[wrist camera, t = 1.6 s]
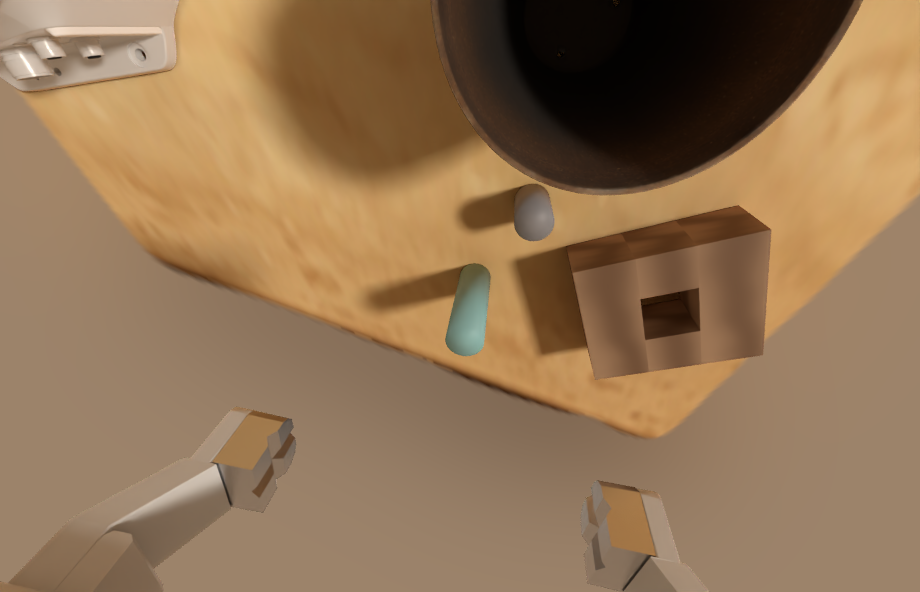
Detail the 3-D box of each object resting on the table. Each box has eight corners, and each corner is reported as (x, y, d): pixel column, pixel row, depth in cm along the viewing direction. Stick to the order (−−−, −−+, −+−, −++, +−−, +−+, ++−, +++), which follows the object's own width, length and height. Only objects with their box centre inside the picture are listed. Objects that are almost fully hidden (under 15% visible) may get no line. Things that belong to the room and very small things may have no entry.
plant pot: (754, -69, 24) (1048, -201, 11) (610, 161, 32) (678, 247, 19) (533, -199, 23) (561, -548, 9) (439, 78, 30) (379, 108, 17)
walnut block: (587, 346, 42) (595, 379, 38) (565, 246, 37) (572, 273, 32) (736, 320, 39) (762, 355, 35) (738, 205, 33) (771, 229, 29)
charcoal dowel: (519, 221, 36) (519, 245, 32) (510, 189, 34) (509, 210, 30) (552, 212, 35) (557, 235, 31) (545, 179, 34) (549, 199, 29)
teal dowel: (465, 292, 41) (452, 358, 32) (455, 267, 39) (440, 329, 31) (494, 286, 40) (488, 352, 31) (485, 260, 38) (477, 322, 30)
